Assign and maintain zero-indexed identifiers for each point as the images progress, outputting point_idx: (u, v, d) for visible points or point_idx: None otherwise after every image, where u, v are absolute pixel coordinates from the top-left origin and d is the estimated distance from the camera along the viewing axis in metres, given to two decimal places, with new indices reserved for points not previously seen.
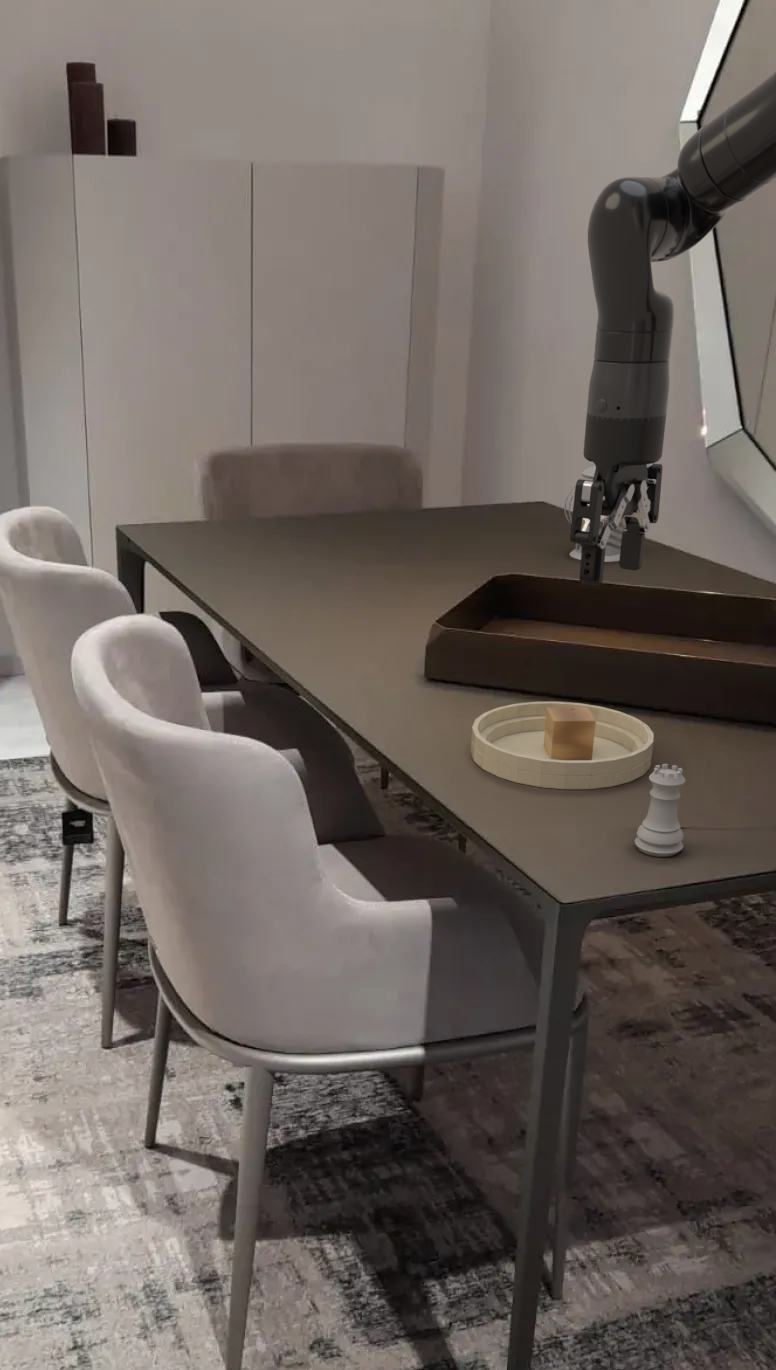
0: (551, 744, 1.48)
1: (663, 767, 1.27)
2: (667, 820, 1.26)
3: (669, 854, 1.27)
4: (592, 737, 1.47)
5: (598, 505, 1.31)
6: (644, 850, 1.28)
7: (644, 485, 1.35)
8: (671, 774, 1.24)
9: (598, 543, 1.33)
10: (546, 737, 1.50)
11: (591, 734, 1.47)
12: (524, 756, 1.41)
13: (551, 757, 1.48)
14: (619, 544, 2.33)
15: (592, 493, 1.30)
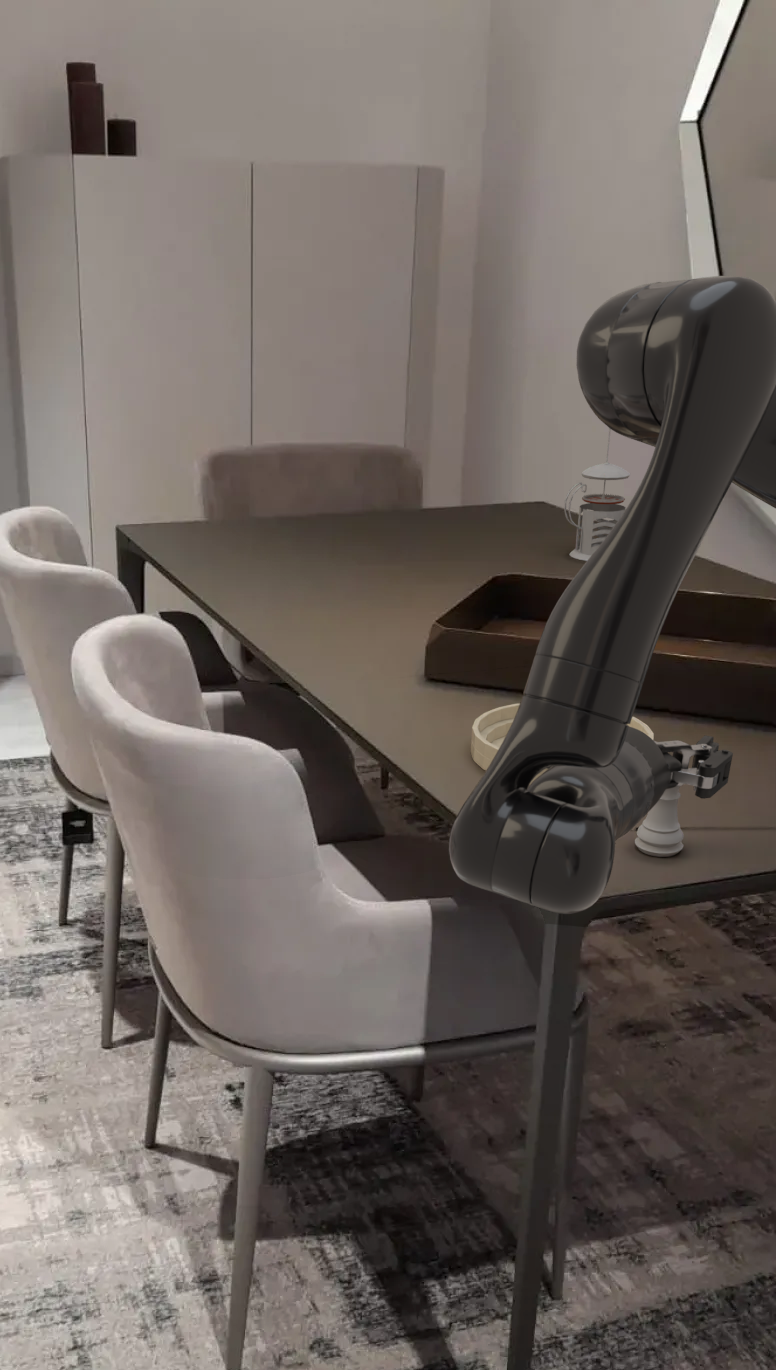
0: None
1: None
2: (667, 820, 1.26)
3: (669, 854, 1.27)
4: None
5: (716, 761, 1.06)
6: (644, 850, 1.28)
7: None
8: None
9: (711, 750, 1.09)
10: None
11: None
12: None
13: None
14: None
15: (716, 772, 1.05)
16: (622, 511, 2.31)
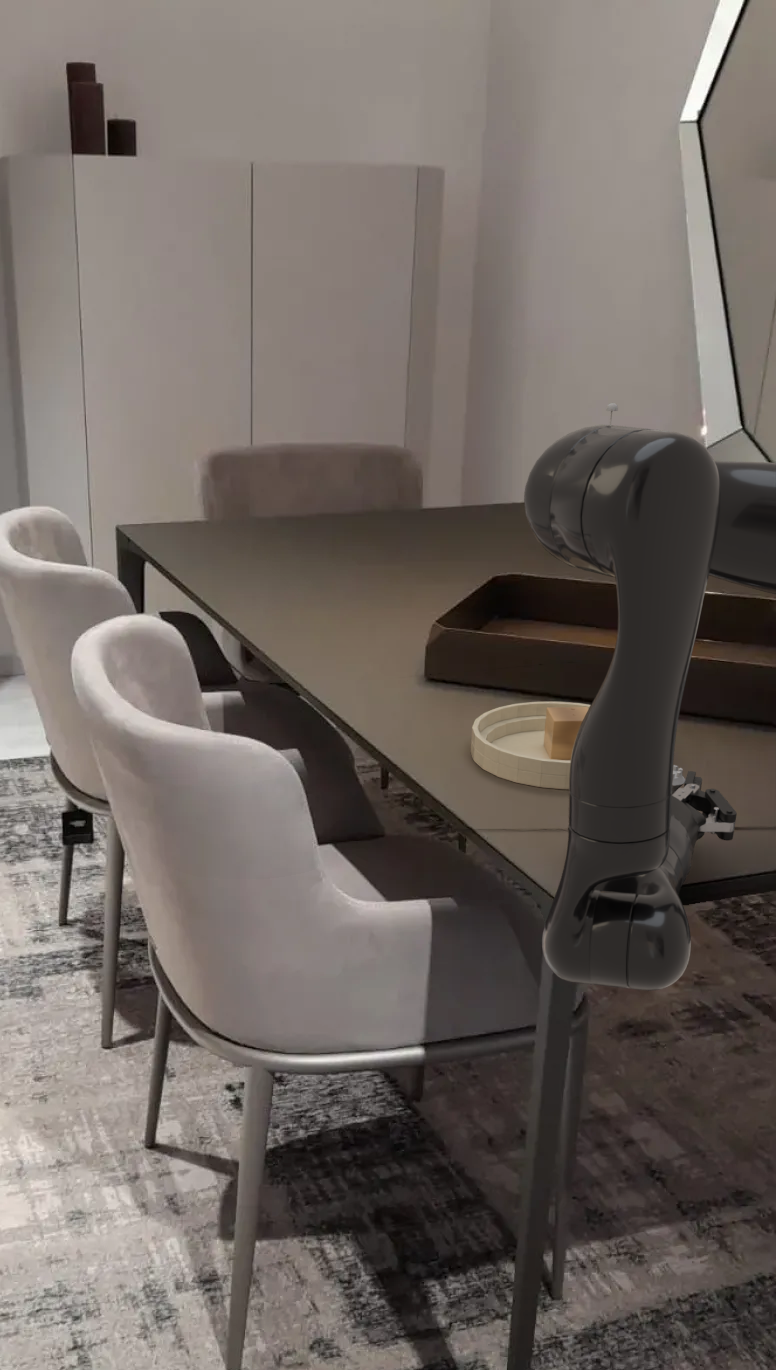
0: (551, 744, 1.48)
1: None
2: None
3: None
4: None
5: (725, 805, 1.20)
6: None
7: None
8: None
9: (699, 789, 1.24)
10: (546, 737, 1.50)
11: None
12: (524, 756, 1.41)
13: (551, 757, 1.48)
14: None
15: None
16: None
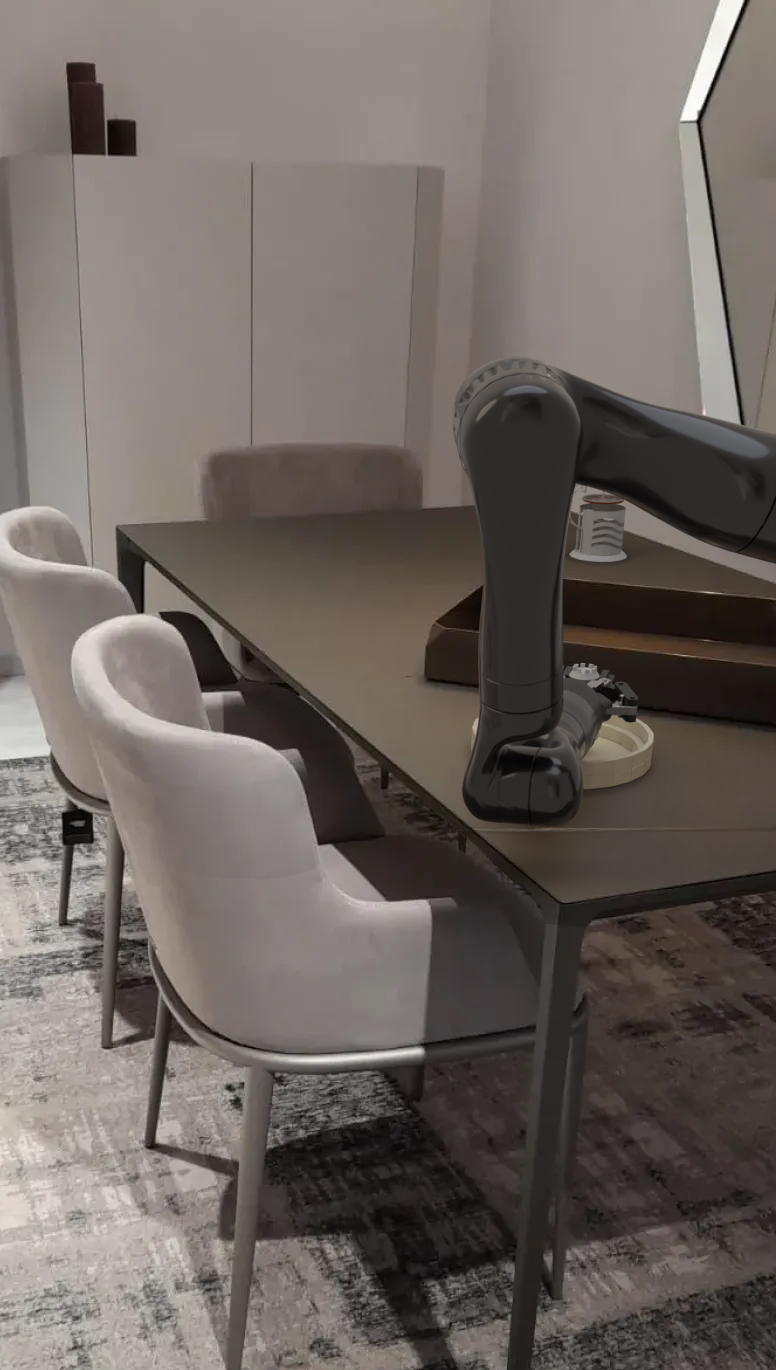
0: None
1: (581, 666, 1.47)
2: None
3: None
4: None
5: (630, 692, 1.40)
6: None
7: None
8: (587, 670, 1.45)
9: (610, 682, 1.44)
10: None
11: None
12: None
13: None
14: (619, 544, 2.33)
15: None
16: (622, 511, 2.31)
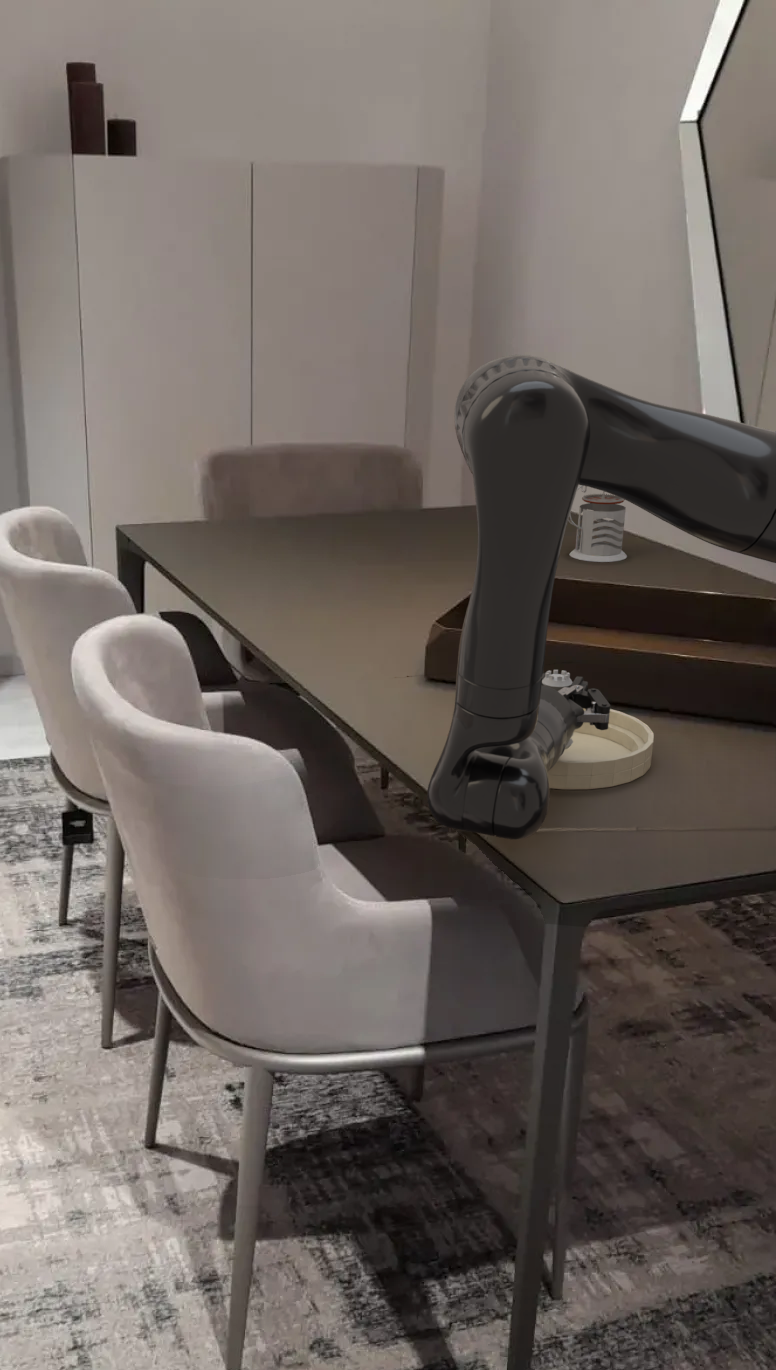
0: None
1: (554, 672, 1.45)
2: None
3: None
4: None
5: (602, 700, 1.39)
6: None
7: None
8: (559, 677, 1.43)
9: (582, 689, 1.43)
10: None
11: None
12: None
13: None
14: (619, 544, 2.33)
15: None
16: (622, 511, 2.31)
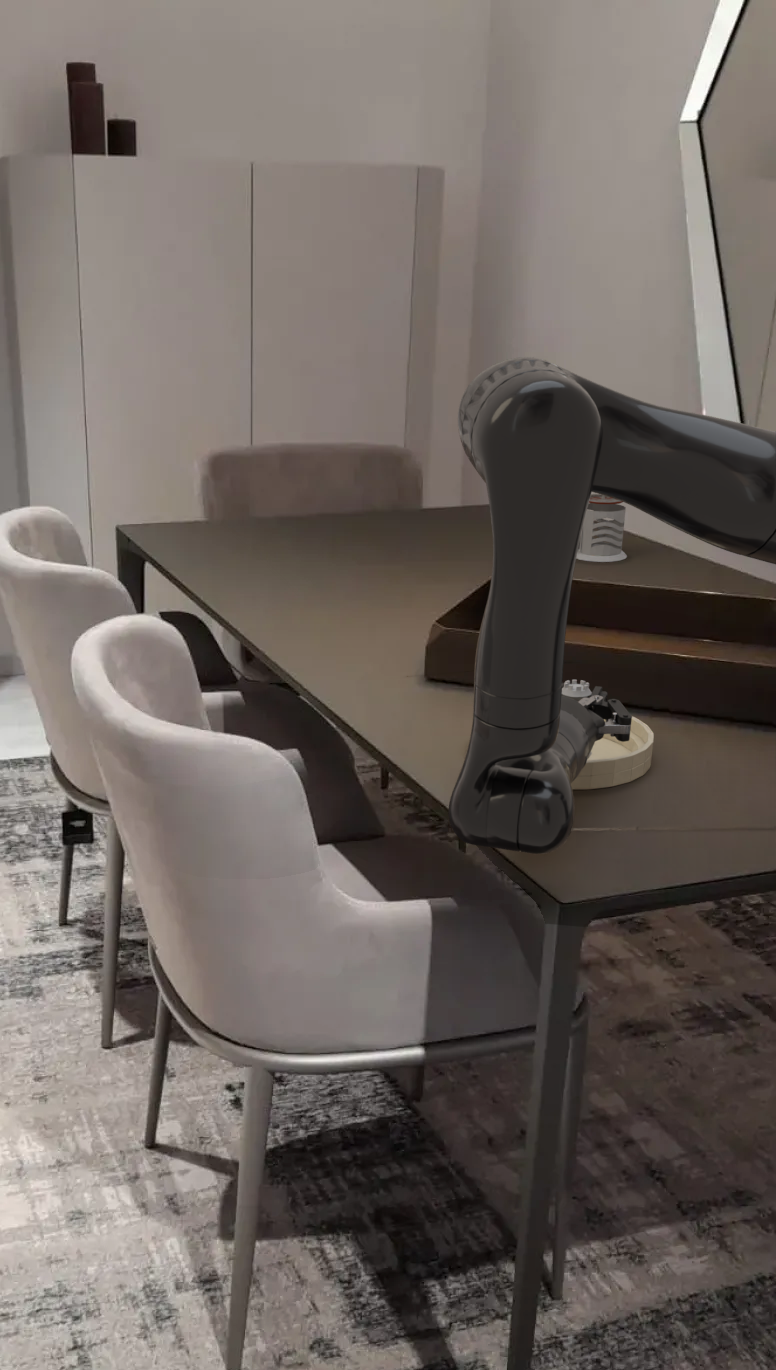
0: None
1: (572, 682, 1.42)
2: None
3: None
4: None
5: (623, 711, 1.36)
6: None
7: None
8: (578, 687, 1.40)
9: (602, 699, 1.40)
10: None
11: None
12: None
13: None
14: (619, 544, 2.33)
15: None
16: (622, 511, 2.31)
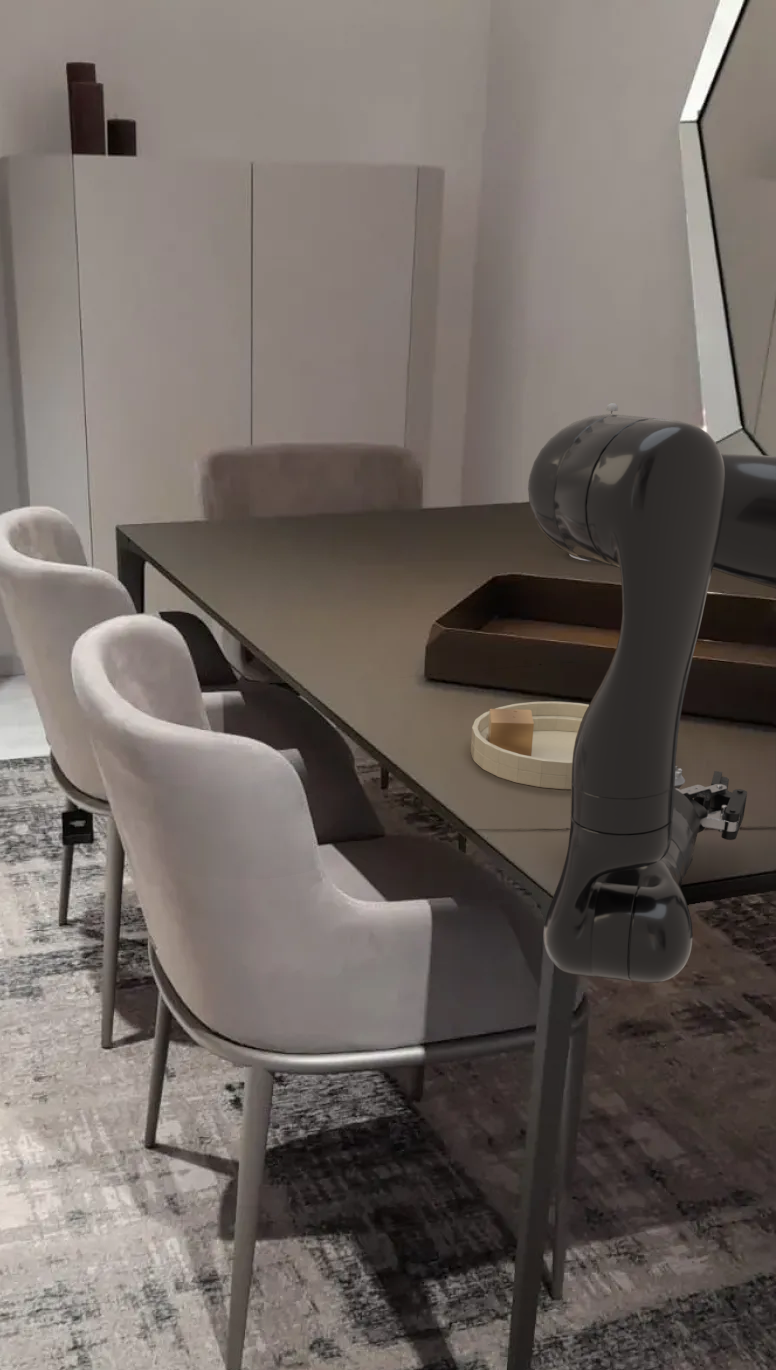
0: None
1: None
2: None
3: None
4: (530, 740, 1.47)
5: (737, 805, 1.18)
6: None
7: None
8: None
9: (726, 789, 1.22)
10: (488, 738, 1.50)
11: (529, 737, 1.46)
12: (524, 756, 1.41)
13: None
14: None
15: (739, 816, 1.17)
16: None
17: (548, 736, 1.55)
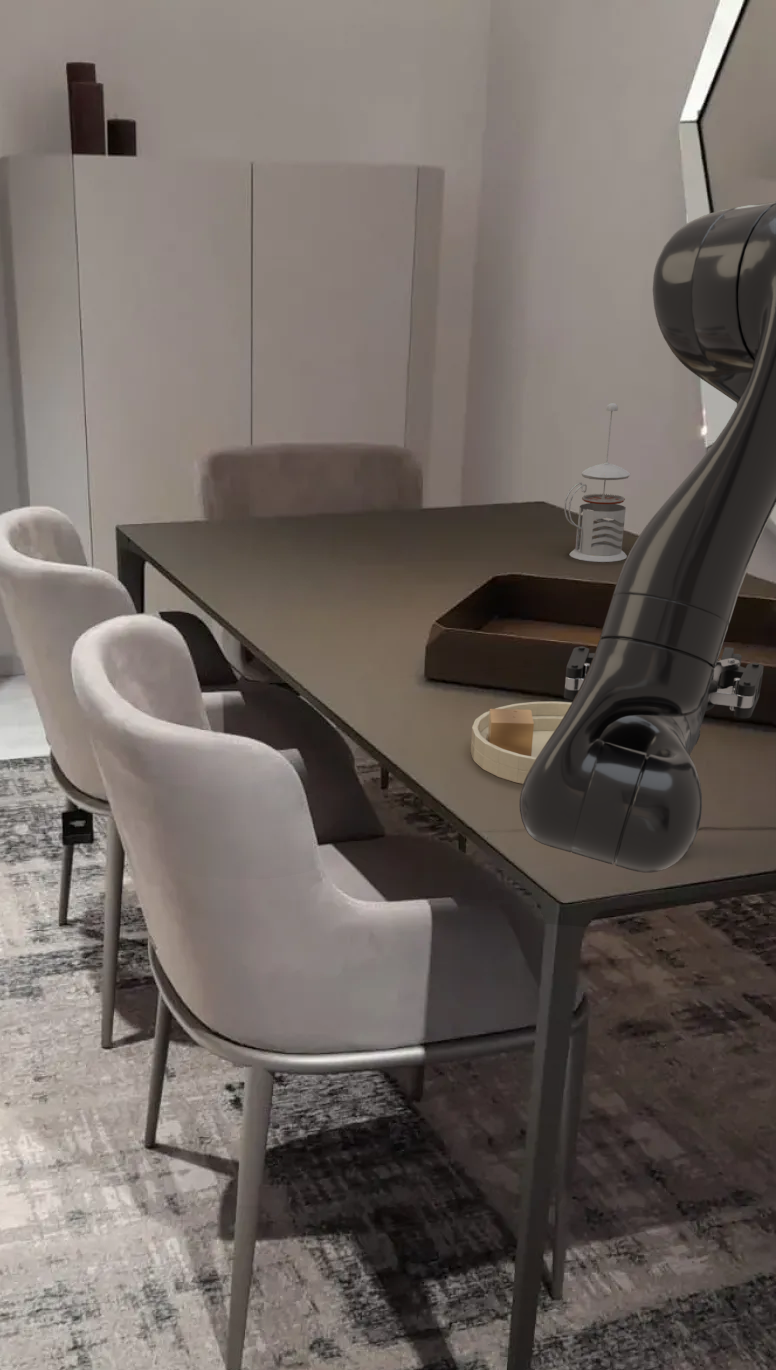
0: None
1: None
2: None
3: None
4: (530, 740, 1.47)
5: (752, 677, 1.01)
6: None
7: None
8: None
9: (739, 664, 1.04)
10: (488, 738, 1.50)
11: (529, 737, 1.46)
12: (524, 756, 1.41)
13: None
14: (619, 544, 2.33)
15: (755, 690, 1.00)
16: (622, 511, 2.31)
17: (548, 736, 1.55)
